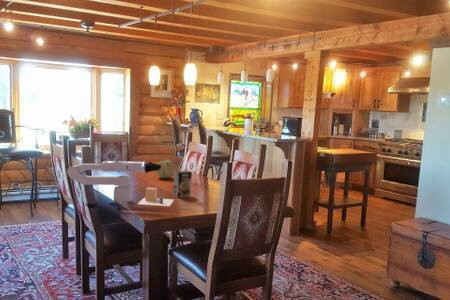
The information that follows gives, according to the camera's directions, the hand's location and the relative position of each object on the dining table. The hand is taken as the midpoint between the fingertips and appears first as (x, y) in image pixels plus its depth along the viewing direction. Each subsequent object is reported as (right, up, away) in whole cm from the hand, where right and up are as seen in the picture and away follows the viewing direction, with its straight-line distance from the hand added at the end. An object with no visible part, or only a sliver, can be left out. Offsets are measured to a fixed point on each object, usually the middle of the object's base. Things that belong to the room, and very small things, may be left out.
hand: (159, 167), depth 241 cm
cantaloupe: (-9, -12, +89) cm, 90 cm away
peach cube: (-6, -19, +8) cm, 21 cm away
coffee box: (+10, -20, +24) cm, 32 cm away
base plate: (-2, -21, +3) cm, 21 cm away
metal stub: (+1, -20, +1) cm, 20 cm away
